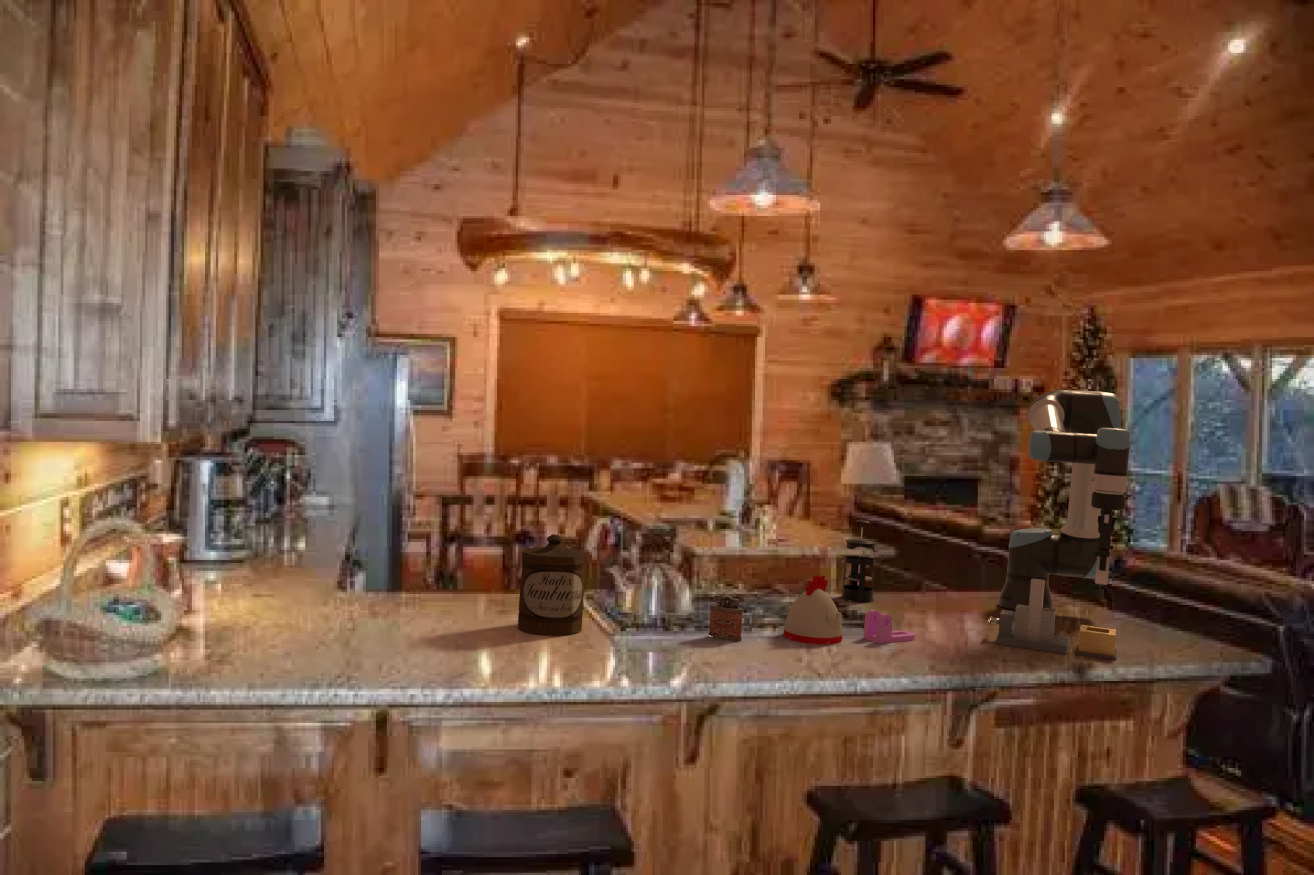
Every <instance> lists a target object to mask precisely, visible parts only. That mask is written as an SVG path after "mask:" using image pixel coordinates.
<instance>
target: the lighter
mask: <svg viewBox="0 0 1314 875" xmlns="http://www.w3.org/2000/svg"><path fill="white" fill-rule="evenodd" d="M713 601H716V602H718V604H717V603H712V604H710V608H709V609H710V614H709V615H710V616H709V632H708V634H709V635H711V636H713V638H712V639H715V640H720V641H727V642H735V643H738V642H742V624H743V613H744V608H743V607H739V604H740V598H734V597H733V595H727V596H725V595H721V594H715V595H713Z"/></svg>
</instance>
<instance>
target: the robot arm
mask: <svg viewBox="0 0 1314 875" xmlns="http://www.w3.org/2000/svg"><path fill="white" fill-rule="evenodd" d="M1120 407H1121V406H1120V401H1119V398H1118V395H1116V394H1115V393H1112V392H1105V391H1097V390H1095V391H1092V390H1090V391H1089V390H1069V389H1068V390H1066V389H1057V390H1051V391H1048V392H1046V393H1043V394H1042V395H1039V396H1037V397H1036V398H1035V399H1034V400H1033V401H1032V402H1031V404H1030V405H1029V407H1028V410H1027V418H1028V422H1029V425H1030V426H1031V427H1032V428H1033V430H1032V431H1031V432H1030V434H1029V439H1028V457H1029V459H1031V460H1037V461H1041V462H1053V463H1054V462H1056V463H1069V464H1070V463H1072V466H1071V468H1072V469H1071V477H1070V487H1069V488H1070V490H1069V498H1068V499H1069V500H1068V509H1067V512H1068V513H1067V520H1066V524H1065V525H1063V526H1062V527H1061V528H1060V533H1059V534H1054V532H1053V530H1052V529H1051V528H1040V527H1038V528H1022V529H1020V528H1019V529H1017V530H1013V531H1012V532H1011V533H1010V536H1009V542H1008V543H1009V544H1008V546H1007V547H1008V560H1007V570H1006V580H1005V583H1004V585H1003V586H1002V590H1001V592H1000V593H999V596H998V606H1000V607H1002V608H1005V609H1008V610H1012V611H1015V609H1016V606H1017V604H1019V605H1027V606H1029V599H1030V586H1031V579H1040V580H1045V583H1044V596H1043V608H1050V609H1054V602H1053V601H1054V600H1053V598H1052V597H1053V596H1052V594H1051V589H1050V586H1049V577H1050V575H1055V576H1062V577H1063V576H1064V577H1075V578H1081V579H1094V580H1095V581H1094V583H1095V585H1096V584H1097V585H1105V586H1106V585H1107V586H1108V584H1109V583H1108V581H1109V574H1110V573H1109V570H1110V560H1111V559H1110V558H1111V550H1112V551H1113V550H1114V545H1112V542H1111V541H1112V540H1111V537H1112V535H1113V534H1114V530H1115V525H1116V519H1117V516H1113V514H1114V511H1123V510H1125V508H1126V498H1127V496H1126V495H1125V493H1126V492H1127V487H1128V485H1127V484H1128V478H1129V477H1128V467H1129V459H1130V448H1131V447H1130V446H1131V445H1132V444H1131V431H1129V429H1126V428H1125V429H1124V428H1121V426H1122V418H1121V415H1122V414H1121V408H1120Z"/></svg>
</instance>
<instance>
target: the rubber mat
mask: <svg viewBox="0 0 1314 875" xmlns="http://www.w3.org/2000/svg"><path fill="white" fill-rule="evenodd" d="M1078 645H1079V643H1076V649H1075V655H1077V656H1083V657H1088V658H1089V657H1090V658H1096V659H1103V660H1111V661H1112V660H1113V661H1116V660H1117V648H1115V651H1114V656H1109V655H1102V654H1095V653H1088V652H1080V651H1078Z"/></svg>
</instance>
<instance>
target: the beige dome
mask: <svg viewBox="0 0 1314 875" xmlns="http://www.w3.org/2000/svg"><path fill="white" fill-rule="evenodd" d="M828 583H829V580H827V579H826V576H825V575H821V576H820V575H813V576H812V580H809V581H808V586H805V587H804V588H805V591H804V592H802V593H801V594H800V595H799V596H798V597H797V598H796V599H795V600H794V602H793V604H792V605H791V606H788V607H787V612H786V613H787V616H786V619H785V622H784V626H783V637H784V636H785V637H784V638H786V639H788V640H790V641H794V642H798V643H804V644H809V645H810V644H811V645H821V646H822V645H825V646H826V645H836V644H840V643H842V641H843V625H842V624H843V615H842V613H841V612H839V610H838V608H837V606H836V604H835V602H834V601H833V599H832V598H831V596H830V595H829V594H828V593H826V589H827V586H828Z"/></svg>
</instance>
